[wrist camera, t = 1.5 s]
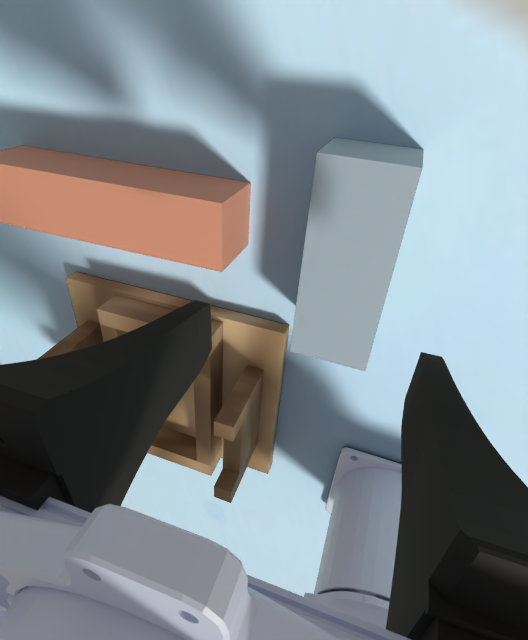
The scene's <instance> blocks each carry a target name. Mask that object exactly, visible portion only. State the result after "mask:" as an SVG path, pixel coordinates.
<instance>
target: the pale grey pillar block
mask: <svg viewBox="0 0 528 640" xmlns="http://www.w3.org/2000/svg"><path fill="white" fill-rule="evenodd" d="M422 166H423V149H417V148H410V147H403V146H395V145H388V144H381V143H373V142H366V141H358V140H351V139H344V138H336V137H334V138H333V139H332V140H331V141H330V142H329V143H327V144H326V145H325V146H324V147H323V148H321V149H320V150H319V151H318V152H317V155H316V162H315V170H314V177H313V184H312V192H311V199H310V206H309V214H308V221H307V228H306V236H305V243H304V251H303V258H302V265H301V273H300V280H299V287H298V295H297V302H296V310H295V317H294V324H293V332H292V339H291V346H290V351H291V352H295V353H299V354H302V355H306V356H310V357H314V358H317V359H321V360H325V361H329V362H332V363H336V364H340V365H344V366H347V367H351V368H355V369H359V370H362V371H365V370H366V366H367V363H368V359H369V356H370V352H371V349H372V345H373V341H374V338H375V334H376V331H377V327H378V324H379V320H380V317H381V313H382V310H383V306H384V302H385V299H386V295H387V292H388V288H389V285H390V281H391V278H392V274H393V271H394V267H395V263H396V260H397V256H398V253H399V249H400V246H401V242H402V239H403V235H404V231H405V228H406V224H407V221H408V217H409V214H410V210H411V207H412V203H413V200H414V196H415V192H416V189H417V185H418V182H419V178H420V175H421V171H422Z"/></svg>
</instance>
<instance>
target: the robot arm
mask: <svg viewBox="0 0 528 640" xmlns="http://www.w3.org/2000/svg"><path fill="white" fill-rule="evenodd" d="M211 350H212V334H211V308H210V304H208V303H203V302H199V301H193V302H190V303H188V304H186V305H184V306H182V307H180V308H178V309H176V310H174V311H172V312H170V313H168V314H166V315H164V316H162V317H160V318H158V319H156V320H154V321H152V322H150V323H148V324H146V325H144V326H141V327H139V328H137V329H135V330H132V331H130V332H128V333H126V334H123V335H121V336H118V337H116V338H113V339H111V340H108V341H105V342H102V343H99V344H96V345H93V346H90V347H87V348H83V349H79V350H76V351H72V352H69V353H65V354H61V355H56V356H52V357H47V358H42V359H37V360H32V361H26V362H19V363H12V364H4V365H0V640H528V487H527V486H526V485H525V484H524V483H523V482H522V481H521V479H520V478H519V477H518V476H517V475H516V474H515V473H514V472H513V470H512V469H511V468H510V467H509V466H508V465H507V463H506V462H505V461H504V460H503V458H502V457H501V456H500V455H499V453H498V452H497V451H496V449H495V448H494V447H493V445H492V444H491V443H490V441H489V440H488V439H487V437H486V436H485V434H484V433H483V431H482V430H481V428H480V427H479V425H478V423H477V422H476V420H475V419H474V417H473V415H472V414H471V412H470V410H469V409H468V407H467V405H466V403H465V401H464V400H463V398H462V396H461V394H460V392H459V390H458V389H457V387H456V385H455V383H454V381H453V379H452V376H451V374H450V372H449V370H448V368H447V366H446V363H445V361H444V360H443V358H442V357H440V356H435V355H431V354H427V353H422V352H421V354H420V357H419V360H418V363H417V366H416V369H415V372H414V374H413V377H412V380H411V383H410V386H409V389H408V392H407V395H406V397H405V403H404V410H403V418H402V428H401V460H402V464H399V463H396V462H393V461H389V460H386V459H383V458H380V457H377V456H373V455H370V454H367V453H364V452H361V451H357V450H354V449H351V448H347V447H346V448H342V450H341V452H340V456H339V459H338V463H337V467H336V470H335V474H334V478H333V481H332V485H331V489H330V492H329V496H328V500H327V503H326V507H325V509H326V511H327V512H328V513H330V514H331V517H330V521H329V526H328V531H327V535H326V540H325V545H324V549H323V554H322V559H321V563H320V568H319V573H318V577H317V582H316V587H315V591H314V594H311V593H305V595H304V597H302V596H300V595H297V594H295V593H292V592H290V591H287V590H285V589H282V588H280V587H277V586H274V585H272V584H269V583H267V582H264V581H262V580H259V579H257V578H254V577H252V576H249V575H247V574H246V572H245V570H244V568H243V565H242V563H241V561H240V560H239V559H238V558H237V557H236V556H235V555H234V554H232V553H231V552H230V551H229V550H228V549H227V548H225V547H223V546H221V545H219V544H217V543H215V542H213V541H211V540H209V539H207V538H204V537H202V536H199V535H197V534H194V533H191V532H189V531H186V530H183V529H181V528H178V527H176V526H173V525H170V524H168V523H165V522H162V521H160V520H157V519H155V518H152V517H149V516H147V515H144V514H141V513H139V512H136V511H134V510H131V509H128V508H126V507H121V504H122V501H123V499H124V497H125V495H126V493H127V491H128V489H129V487H130V485H131V483H132V481H133V479H134V477H135V475H136V473H137V471H138V469H139V467H140V465H141V463H142V461H143V460H144V458H145V456H146V454H147V452H148V450H149V448H150V447H151V445H152V443H153V441H154V439H155V438H156V436H157V434H158V432H159V431H160V429H161V427H162V426H163V424H164V422H165V421H166V419H167V418H168V416H169V415H170V414H171V412H172V411H173V409H174V408H175V407H176V405H177V404H178V403H179V401H180V400H181V398H182V397H183V396H184V394H185V393H186V391H187V390H188V389H189V387H190V386H191V384H192V383H193V382H194V380H195V379H196V377H197V376H198V374H199V373H200V372H201V370H202V368H203V366H204V364H205V362H206V360H207V358H208V356H209V354H210V352H211ZM355 456H356V457H355Z"/></svg>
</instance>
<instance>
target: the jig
mask: <svg viewBox="0 0 528 640" xmlns="http://www.w3.org/2000/svg"><path fill="white" fill-rule="evenodd" d="M66 281H67V285H68V289H69V293H70V297H71V302H72V306H73V310H74V314H75V318H76V322H77V327H78V328H77V329H76V330H74V331H73V332H72V333H71V334H69V335H68V336H67V337H65V338H64V339H63V340H62V341H60V342H59V343H58V344H56V345H55V346H54V347H52V348H51V349H50V350H49V351H47V352H46V353H45V354H43V355H42V356H41V357H39V358H38V359H42V358H47V357H52V356H56V355H61V354H65V353H69V352H72V351H76V350H79V349H83V348H87V347H90V346H93V345H96V344H99V343H102V342H105V341H108V340H111V339H113V338H116V337H118V336H121V335H123V334H126V333H128V332H130V331H132V330H135V329H137V328H139V327H141V326H144V325H146V324H148V323H150V322H152V321H154V320H156V319H158V318H160V317H162V316H164V315H166V314H168V313H170V312H172V311H174V310H176V309H178V308H180V307H182V306H184V305H186V304H188V303H190V302H193V301H191V300H187V299H183V298H179V297H175V296H171V295H167V294H163V293H159V292H155V291H151V290H147V289H143V288H139V287H135V286H131V285H127V284H123V283H119V282H115V281H111V280H107V279H103V278H99V277H95V276H91V275H87V274H83V273H79V272H74V273H73V274H71V275H70V276H68V277H66ZM210 308H211V334H212V350H211V352H210V354H209V356H208V358H207V360H206V362H205V364H204V366H203V368H202V370H201V372H200V373H199V374H198V376H197V377H196V379H195V380H194V382H193V383H192V384H191V386H190V387H189V389H188V390H187V391H186V393H185V394H184V396H183V397H182V398H181V400H180V401H179V403H178V404H177V405H176V407H175V408H174V409H173V411H172V412H171V414H170V415H169V416H168V418H167V419H166V421H165V422H164V424H163V426H162V427H161V429H160V431H159V432H158V434H157V436H156V438H155V439H154V441H153V443H152V445H151V447H150V448H149V450H148V452H147V453H149V454H152V455H155V456H157V457H160V458H163V459H166V460H169V461H171V462H174V463H177V464H180V465H183V466H185V467H188V468H191V469H194V470H197V471H199V472H202V473H205V474H208V475H210V476H211V475H212V473H213V471H214V469H215V467H216V466H217V464H218V462H219V460H220V458H223V470H222V472H221V474H220V476H219V478H218V480H217V482H216V484H215V486H214V497H216V498H219V499H222V500H225V501H227V502H230V503H231V502H232V499H233V497H234V495H235V493H236V490H237V488H238V486H239V484H240V481H241V479H242V477H243V475H244V472H245V470H246V468H247V467H249V468H252V469H255V470H258V471H261V472H264V473H267V474H268V473H269V470H270V467H271V465H272V459H273V451H274V443H275V435H276V427H277V419H278V411H279V403H280V395H281V387H282V379H283V371H284V364H285V356H286V348H287V340H288V332H289V325H287V324H283V323H279V322H275V321H271V320H267V319H263V318H259V317H255V316H251V315H247V314H243V313H239V312H235V311H231V310H227V309H223V308H219V307H215V306H211V305H210Z"/></svg>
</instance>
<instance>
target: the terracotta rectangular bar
mask: <svg viewBox="0 0 528 640" xmlns="http://www.w3.org/2000/svg"><path fill="white" fill-rule="evenodd" d="M250 191H251V183H249V182H243V181H237V180H231V179H225V178H219V177H212V176H206V175H200V174H194V173H188V172H182V171H176V170H169V169H163V168H157V167H151V166H145V165H139V164H133V163H126V162H120V161H114V160H108V159H102V158H96V157H89V156H83V155H77V154H71V153H65V152H59V151H53V150H46V149H40V148H34V147H28V146H19V147H14V148H10V149H5V150H1V151H0V223H3V224H8V225H12V226H17V227H21V228H26V229H30V230H35V231H39V232H44V233H48V234H53V235H57V236H62V237H66V238H71V239H75V240H80V241H85V242H89V243H94V244H98V245H103V246H107V247H112V248H116V249H121V250H125V251H130V252H134V253H139V254H143V255H148V256H152V257H157V258H161V259H166V260H170V261H175V262H179V263H184V264H188V265H193V266H197V267H202V268H206V269H211V270H215V271H220V272H222V271H223V270H224V269H225V268H226V267H227V266H228V265H229V264H230V263H231V262H232V261H233V260H234V259H235V258H236V257H237V256H238V255H239V254H240V253H241V251H242V250H243V249H244V248H245V247H246V246H247V245H248V238H249V214H250Z"/></svg>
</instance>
